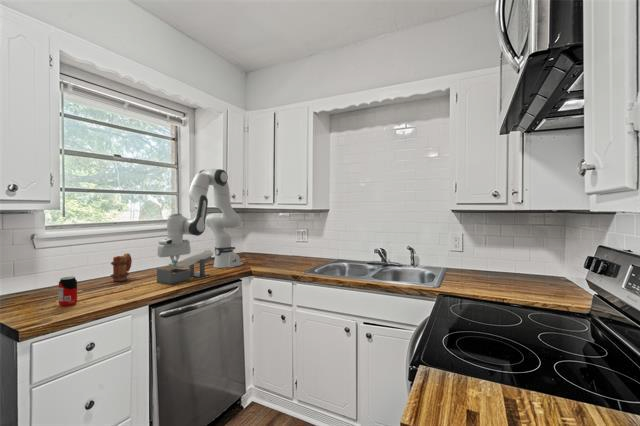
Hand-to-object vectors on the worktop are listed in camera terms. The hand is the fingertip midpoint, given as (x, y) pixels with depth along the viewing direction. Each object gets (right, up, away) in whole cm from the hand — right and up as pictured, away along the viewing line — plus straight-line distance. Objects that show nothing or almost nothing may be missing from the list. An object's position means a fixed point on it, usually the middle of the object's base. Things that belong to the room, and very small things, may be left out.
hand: (174, 263), depth 191 cm
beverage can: (-23, -10, -52) cm, 58 cm away
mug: (-29, -9, -4) cm, 31 cm away
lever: (+8, -2, +7) cm, 11 cm away
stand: (+12, -9, +5) cm, 15 cm away
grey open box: (+4, -9, -9) cm, 13 cm away
